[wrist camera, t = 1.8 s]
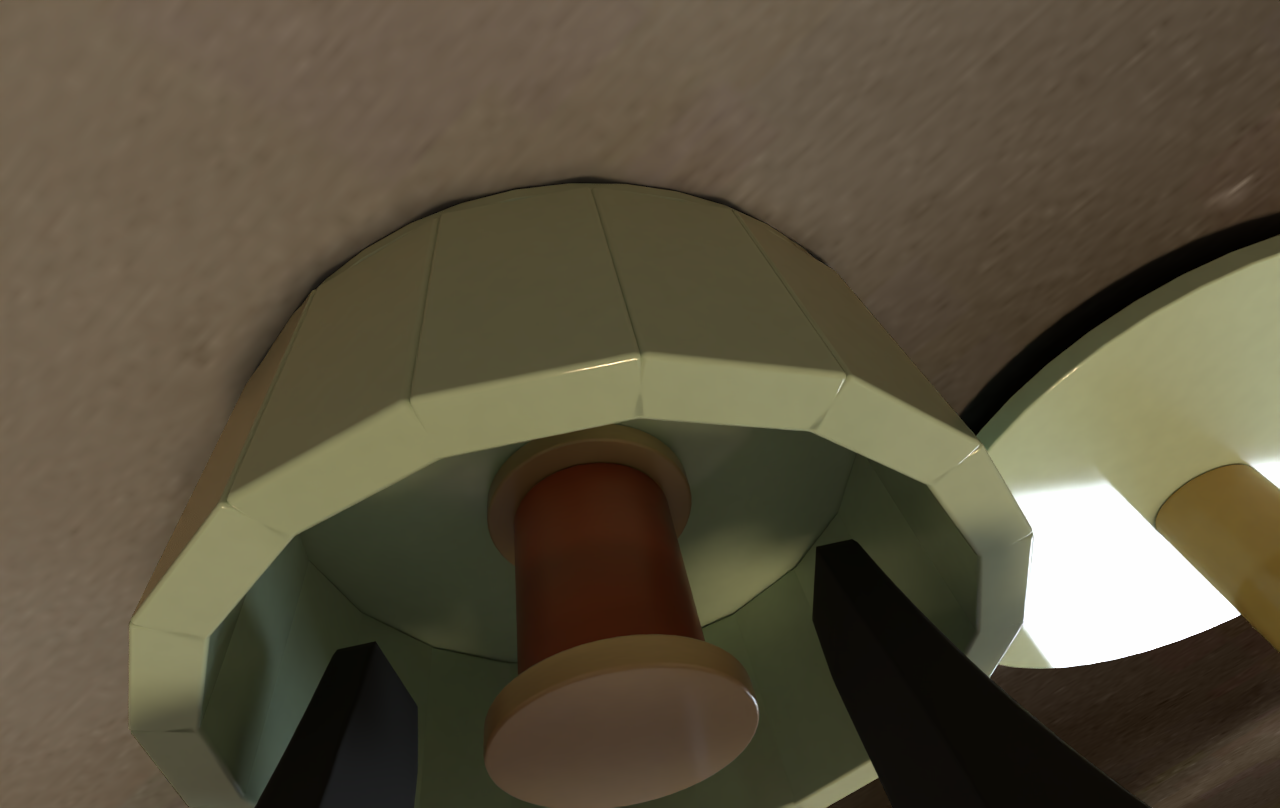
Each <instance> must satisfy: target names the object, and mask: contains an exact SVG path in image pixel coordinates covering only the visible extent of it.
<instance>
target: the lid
mask: <svg viewBox="0 0 1280 808" xmlns="http://www.w3.org/2000/svg"><path fill="white" fill-rule="evenodd" d="M976 437H977V438H978V439H979V440H980V441H981V442H982V444H983V445H984V447H985V449H986V450H987V452H988V454H989V455H990V457H991V459H992V460H993V462H994V464H995V466H996V467H997V469H998V471H999V472H1000V474H1001V476H1002V477H1003V479H1004V481H1005V483H1006V484H1007V486H1008V488H1009V489H1010V491H1011V493H1012V494H1013V496H1014V498H1015V499H1016V501H1017V503H1018V505H1019V506H1020V508H1021V510H1022V511H1023V513H1024V515H1025V516H1026V518H1027V520H1028V522H1029V523H1030V525H1031V527H1032V532H1033V535H1034V541H1033V551H1032V561H1031V571H1030V581H1029V591H1028V601H1027V611H1026V619H1025V620H1024V624H1023V626H1022V628H1021V629H1020V631H1019V632H1018V634H1017V636H1016V637H1015V639H1014V640H1013V642H1012V643H1011V645H1010V647H1009V648H1008V650H1007V651H1006V653H1005V655H1004V656H1003V658H1002V659H1001V661H1000V662H999V664H998V665H1003V666H1009V667H1017V668H1034V669H1042V668H1064V667H1072V666H1080V665H1088V664H1094V663H1099V662H1104V661H1109V660H1114V659H1119V658H1122V657H1126V656H1130V655H1134V654H1138V653H1141V652H1145V651H1148V650H1152V649H1155V648H1158V647H1161V646H1164V645H1167V644H1170V643H1173V642H1176V641H1179V640H1181V639H1184V638H1187V637H1189V636H1192V635H1195V634H1197V633H1200V632H1202V631H1205V630H1207V629H1210V628H1212V627H1214V626H1217V625H1219V624H1221V623H1223V622H1226V621H1228V620H1230V619H1232V618H1235V617H1237V616H1239V615H1241V616H1242V617H1243V618H1244V619H1245V620H1246V621H1247V622H1248V623H1249V624H1250V625H1251V626H1252V627H1253V628H1254V629H1255V630H1256V631H1257V632H1258V633H1259V634H1260V635H1261V636H1262V637H1263V638H1264V639H1266V640H1267V641H1268V642H1269V643H1270V644H1271V645H1272V646H1273V647H1274V648H1275V649H1276V650H1277V651H1278V652H1279V653H1280V235H1277V236H1274V237H1271V238H1268V239H1266V240H1263V241H1260V242H1257V243H1255V244H1252V245H1249V246H1246V247H1244V248H1241V249H1238V250H1235V251H1233V252H1230V253H1228V254H1226V255H1224V256H1221V257H1219V258H1217V259H1215V260H1213V261H1211V262H1208V263H1206V264H1204V265H1202V266H1200V267H1198V268H1195V269H1193V270H1191V271H1189V272H1187V273H1185V274H1182V275H1181V276H1179V277H1177V278H1175V279H1173V280H1172V281H1170V282H1168V283H1166V284H1165V285H1163V286H1161V287H1159V288H1157V289H1156V290H1154V291H1152V292H1150V293H1149V294H1147V295H1145V296H1143V297H1141V298H1140V299H1138V300H1136V301H1134V302H1133V303H1131V304H1130V305H1128V306H1127V307H1125V308H1124V309H1122V310H1121V311H1119V312H1118V313H1116V314H1115V315H1113V316H1112V317H1110V318H1109V319H1107V320H1106V321H1104V322H1103V323H1101V324H1100V325H1098V326H1097V327H1095V328H1094V329H1092V330H1091V331H1089V332H1088V333H1086V334H1085V335H1084V336H1083V337H1081V338H1080V339H1079V340H1077V341H1076V342H1075V343H1074V344H1072V345H1071V346H1070V347H1068V348H1067V349H1066V350H1065V351H1063V352H1062V353H1061V354H1059V355H1058V356H1057V357H1056V358H1054V359H1053V360H1052V361H1051V362H1049V363H1048V364H1047V365H1046V366H1045V367H1043V368H1042V369H1041V370H1040V371H1039V372H1038V373H1037V374H1036V375H1035V376H1034V377H1033V378H1031V379H1030V380H1029V381H1028V382H1027V383H1026V384H1025V385H1024V386H1023V387H1022V388H1020V389H1019V390H1018V391H1017V392H1016V393H1015V394H1014V395H1013V396H1012V397H1011V398H1010V399H1009V400H1008V401H1007V402H1006V403H1005V404H1004V405H1003V406H1002V407H1001V409H1000V410H999V411H998V412H997V413H996V414H995V415H994V416H993V417H992V418H991V419H990V420H989V422H988V423H987V424H986V425H985V426H984V427H983V428H982V429H981V430H980V432H979V433H978V434H977V435H976Z"/></svg>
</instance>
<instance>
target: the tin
mask: <svg viewBox="0 0 1280 808" xmlns="http://www.w3.org/2000/svg"><path fill="white" fill-rule="evenodd" d="M609 424H617V425H623V426H628V427H632V428H635V429H639V430H641V431H643V432H646V433H648V434H650V435H652V436H654V437H655V438H657V439H659V440H660V441H662V442H663V443H664V444H665V445H667V446H668V447H669V448H670V449H671V450H672V451H673V452H674V453H675V454H676V456H677V457H678V459H679V460H680V462H681V463H682V465H683V468H684V470H685V473H686V476H687V479H688V482H689V485H690V490H691V495H692V505H691V511H690V516H689V519H688V522H687V524H686V526H685V528H684V530H683V532H682V534H681V535H680V536H679V538H678V543H679V547H680V550H681V554H682V558H683V561H684V565H685V569H686V572H687V576H688V580H689V584H690V587H691V591H692V595H693V598H694V602H695V606H696V609H697V613H698V617H699V620H700V624H701V628H702V631H703V635H704V639H705V642H708V643H711V644H713V645H716V646H718V647H720V648H722V649H724V650H725V651H727V652H729V653H730V654H731V655H733V656H734V657H735V658H736V659H737V660H738V661H739V662H740V663H741V664H742V665H743V667H744V668H745V669H746V671H747V673H748V675H749V677H750V679H751V683H752V686H753V689H754V692H755V695H756V698H757V702H758V707H759V721H758V726H757V729H756V732H755V734H754V736H753V738H752V740H751V741H750V743H749V744H748V745H747V747H746V748H745V749H744V751H743V752H742V753H741V754H739V755H738V756H737V757H736V758H735V759H734V760H733V761H732V762H731V763H729V764H728V765H727V766H726V767H724V768H723V769H721V770H720V771H718V772H717V773H715V774H714V775H712V776H710V777H708V778H707V779H705V780H703V781H701V782H699V783H697V784H695V785H693V786H691V787H688V788H686V789H684V790H681V791H678V792H676V793H673V794H670V795H667V796H664V797H661V798H658V799H654V800H650V801H647V802H643V803H638V804H633V805H628V806H622V807H615V808H826V807H828V806H829V805H831V804H833V803H835V802H836V801H838V800H840V799H842V798H843V797H845V796H847V795H849V794H850V793H852V792H854V791H856V790H857V789H859V788H861V787H863V786H864V785H866V784H868V783H870V782H871V781H873V780H875V779H877V778H878V775H877V773H876V771H875V769H874V767H873V764H872V762H871V760H870V758H869V756H868V754H867V752H866V750H865V748H864V745H863V743H862V741H861V739H860V737H859V735H858V733H857V731H856V728H855V726H854V724H853V722H852V720H851V718H850V716H849V713H848V711H847V709H846V707H845V705H844V703H843V701H842V698H841V696H840V694H839V692H838V690H837V688H836V685H835V683H834V681H833V679H832V676H831V673H830V670H829V667H828V665H827V662H826V659H825V656H824V653H823V650H822V647H821V644H820V641H819V639H818V636H817V633H816V630H815V627H814V624H813V621H812V612H813V594H814V575H815V557H816V547H817V546H822V545H826V544H831V543H836V542H840V541H845V540H850V539H853V540H855V541H857V542H858V543H859V544H860V545H861V546H862V548H863V549H864V550H865V551H866V552H867V553H868V555H869V556H870V557H871V558H872V559H873V560H874V561H875V563H876V564H877V565H878V566H879V567H880V568H881V569H882V570H883V571H884V573H885V574H886V575H887V576H888V577H889V578H890V579H891V580H892V581H893V582H894V584H895V585H896V586H897V587H898V588H899V589H900V590H901V591H902V592H903V593H904V594H905V595H906V596H907V597H908V598H909V599H910V601H911V602H912V603H913V604H914V605H915V606H916V607H917V608H918V609H919V610H920V611H921V612H922V613H923V614H924V615H925V616H926V617H927V618H928V619H929V620H930V621H931V622H932V623H933V624H934V625H935V626H936V627H937V628H938V629H939V630H940V631H941V632H942V633H943V634H944V635H945V636H946V637H947V638H948V639H949V640H950V641H951V642H952V643H953V644H954V645H955V646H956V647H957V648H958V649H959V650H961V651H962V652H963V653H964V654H965V655H966V656H967V657H968V658H969V659H970V660H971V661H972V662H973V663H974V664H975V665H976V666H977V667H978V668H980V669H981V670H982V671H983V672H984V673H985V674H986V675H987V676H988V677H989V678H990V677H991V675H992V674H993V672H994V670H995V669H996V667H997V666H998V664H999V662H1000V661H1001V659H1002V658H1003V656H1004V655H1005V653H1006V651H1007V650H1008V648H1009V647H1010V645H1011V643H1012V642H1013V640H1014V639H1015V637H1016V636H1017V634H1018V632H1019V631H1020V629H1021V628H1022V626H1023V624H1024V620H1025V619H1026V611H1027V601H1028V591H1029V581H1030V571H1031V561H1032V551H1033V541H1034V535H1033V532H1032V527H1031V525H1030V523H1029V522H1028V520H1027V518H1026V516H1025V515H1024V513H1023V511H1022V510H1021V508H1020V506H1019V505H1018V503H1017V501H1016V499H1015V498H1014V496H1013V494H1012V493H1011V491H1010V489H1009V488H1008V486H1007V484H1006V483H1005V481H1004V479H1003V477H1002V476H1001V474H1000V472H999V471H998V469H997V467H996V466H995V464H994V462H993V460H992V459H991V457H990V455H989V454H988V452H987V450H986V449H985V447H984V445H983V444H982V442H981V441H980V440H979V439H978V438H977V437H976V435H975V434H974V433H973V432H972V431H971V430H970V428H969V427H968V426H967V425H966V424H965V423H964V421H963V420H962V419H961V418H960V417H959V415H958V414H957V413H956V412H955V411H954V410H953V408H952V407H951V406H950V405H949V404H948V403H947V401H946V400H945V399H944V398H943V397H942V395H941V394H940V393H939V392H938V391H937V390H936V388H935V387H934V386H933V385H932V384H931V383H930V381H929V380H928V379H927V378H926V377H925V376H924V374H923V373H922V372H921V371H920V370H919V368H918V367H917V366H916V365H915V364H914V363H913V361H912V360H911V359H910V358H909V357H908V356H907V354H906V353H905V352H904V351H903V350H902V348H901V347H900V346H899V345H898V344H897V343H896V341H895V340H894V339H893V338H892V337H891V336H890V334H889V333H888V332H887V331H886V330H885V328H884V327H883V326H882V325H881V324H880V323H879V321H878V320H877V319H876V318H875V317H874V316H873V314H872V313H871V312H870V311H869V310H868V309H867V307H866V306H865V305H864V304H863V303H862V301H861V300H860V299H859V298H858V297H857V296H856V294H855V293H854V292H853V291H852V290H851V289H850V287H849V286H848V285H847V284H846V283H845V281H844V280H843V279H842V278H841V277H840V276H839V275H838V274H837V273H836V272H835V271H834V270H833V269H831V268H830V267H828V266H826V265H825V264H823V263H821V262H820V261H818V260H816V259H815V258H814V257H813V256H812V255H811V254H809V253H808V252H807V251H806V250H805V249H804V248H803V247H801V246H800V245H798V244H797V243H795V242H793V241H792V240H790V239H789V238H787V237H786V236H784V235H783V234H781V233H780V232H778V231H777V230H775V229H773V228H772V227H770V226H769V225H767V224H765V223H763V222H761V221H759V220H756V219H754V218H752V217H750V216H747V215H745V214H743V213H741V212H739V211H736V210H734V209H732V208H730V207H728V206H725V205H722V204H719V203H715V202H712V201H708V200H705V199H701V198H698V197H694V196H691V195H688V194H684V193H681V192H677V191H670V190H664V189H657V188H650V187H643V186H636V185H629V184H591V183H568V184H560V185H551V186H543V187H534V188H526V189H517V190H512V191H508V192H504V193H500V194H496V195H492V196H488V197H484V198H480V199H476V200H472V201H468V202H464V203H460V204H458V205H455V206H453V207H450V208H448V209H445V210H443V211H440V212H438V213H435V214H433V215H430V216H428V217H425V218H423V219H420V220H418V221H415V222H413V223H410V224H408V225H407V226H405V227H403V228H401V229H399V230H398V231H396V232H394V233H392V234H391V235H389V236H387V237H385V238H384V239H382V240H380V241H378V242H377V243H375V244H373V245H371V246H370V247H368V248H366V249H364V250H363V251H362V252H360V253H359V254H358V255H356V256H355V257H354V258H353V259H351V260H350V261H349V262H347V263H346V264H345V265H344V266H342V267H341V268H340V269H339V270H337V271H336V272H335V273H333V274H332V275H331V276H330V277H328V278H327V279H326V280H324V281H323V283H322V284H321V285H320V286H319V287H318V288H317V289H316V290H313V291H311V293H310V294H309V296H308V297H307V299H306V300H305V301H304V303H303V304H302V305H301V306H300V307H299V308H298V309H297V310H296V311H295V312H294V314H293V315H292V316H291V318H290V319H289V321H288V322H287V324H286V325H285V327H284V328H283V330H282V331H281V333H280V334H279V336H278V337H277V339H276V340H275V342H274V343H273V345H272V346H271V348H270V349H269V351H268V353H267V355H266V357H265V358H264V359H263V361H262V362H261V364H260V365H259V367H258V368H257V369H256V371H255V372H254V374H253V375H252V377H251V378H250V379H249V381H248V382H247V384H246V385H245V387H244V389H243V391H242V393H241V395H240V397H239V399H238V401H237V403H236V405H235V407H234V409H233V411H232V413H231V415H230V417H229V420H228V422H227V424H226V426H225V428H224V430H223V432H222V434H221V436H220V438H219V440H218V442H217V444H216V446H215V448H214V450H213V452H212V454H211V456H210V458H209V460H208V462H207V464H206V466H205V468H204V470H203V472H202V474H201V477H200V479H199V481H198V483H197V485H196V487H195V489H194V491H193V493H192V495H191V497H190V499H189V501H188V503H187V505H186V507H185V509H184V511H183V513H182V515H181V517H180V519H179V521H178V523H177V525H176V527H175V529H174V532H173V534H172V536H171V538H170V540H169V542H168V544H167V546H166V548H165V550H164V552H163V554H162V556H161V558H160V560H159V562H158V564H157V566H156V568H155V570H154V572H153V574H152V576H151V578H150V580H149V582H148V584H147V586H146V589H145V591H144V593H143V595H142V597H141V599H140V601H139V603H138V605H137V607H136V609H135V611H134V613H133V615H132V617H131V621H130V623H129V680H128V729H129V730H131V734H132V735H133V736H134V738H135V739H136V740H137V742H138V743H139V744H140V745H141V747H142V748H143V749H144V751H145V752H146V753H147V754H148V756H149V757H150V758H151V760H152V761H153V762H154V763H155V765H156V766H157V767H158V769H159V770H160V771H161V773H162V774H163V775H164V776H165V778H166V779H167V780H168V782H169V783H170V784H171V785H172V787H173V788H174V789H175V791H176V792H177V793H178V794H179V796H180V797H181V798H182V800H183V801H184V802H185V803H186V805H187V806H188V807H190V808H254V807H255V806H256V804H257V802H258V800H259V798H260V796H261V794H262V793H263V791H264V789H265V787H266V785H267V783H268V781H269V780H270V778H271V776H272V774H273V772H274V770H275V768H276V767H277V765H278V763H279V761H280V759H281V757H282V755H283V754H284V752H285V750H286V748H287V746H288V744H289V742H290V740H291V738H292V736H293V734H294V732H295V730H296V728H297V726H298V724H299V722H300V721H301V719H302V717H303V715H304V713H305V711H306V709H307V707H308V705H309V703H310V701H311V699H312V697H313V694H314V692H315V690H316V688H317V686H318V684H319V682H320V680H321V678H322V676H323V674H324V672H325V670H326V668H327V666H328V664H329V662H330V660H331V658H332V656H333V654H334V653H335V652H336V650H337V649H342V648H346V647H351V646H356V645H360V644H365V643H370V642H374V641H376V643H377V644H378V646H379V647H380V649H381V650H382V652H383V653H384V655H385V656H386V658H387V660H388V661H389V663H390V664H391V666H392V667H393V669H394V670H395V672H396V673H397V675H398V677H399V678H400V680H401V681H402V683H403V684H404V686H405V687H406V689H407V690H408V692H409V694H410V695H411V697H412V698H413V700H414V701H415V703H416V704H417V706H418V774H417V784H416V794H415V802H414V808H550V807H545V806H540V805H535V804H532V803H528V802H525V801H522V800H520V799H518V798H515V797H513V796H511V795H510V794H508V793H506V792H505V791H503V790H502V789H501V788H499V787H498V786H497V785H496V784H495V783H494V782H493V780H492V779H491V778H490V776H489V774H488V772H487V770H486V767H485V765H484V757H483V742H484V723H485V718H486V716H487V713H488V710H489V708H490V706H491V704H492V703H493V701H494V699H495V698H496V696H497V695H498V694H499V693H500V692H501V691H502V689H503V688H504V687H505V686H506V685H507V684H508V683H510V682H511V681H512V680H513V679H514V678H515V677H516V676H518V661H517V622H516V584H515V566H514V565H512V564H511V563H510V562H508V561H507V560H506V559H505V558H504V557H503V556H502V555H501V554H500V552H499V551H498V549H497V548H496V547H495V545H494V543H493V541H492V539H491V537H490V534H489V530H488V525H487V501H488V493H489V490H490V486H491V483H492V481H493V479H494V477H495V475H496V474H497V472H498V471H499V469H500V468H501V466H502V465H503V464H504V463H505V462H506V460H507V459H508V458H509V457H510V456H511V455H512V454H513V453H515V452H516V451H517V450H518V449H519V448H521V447H522V446H524V445H525V444H527V443H528V442H530V441H532V440H535V439H540V438H545V437H550V436H555V435H560V434H565V433H570V432H575V431H579V430H584V429H589V428H594V427H599V426H604V425H609Z"/></svg>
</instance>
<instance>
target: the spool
mask: <svg viewBox="0 0 1280 808" xmlns="http://www.w3.org/2000/svg"><path fill="white" fill-rule="evenodd" d="M691 505H692V495H691V490H690V485H689V482H688V479H687V476H686V473H685V470H684V468H683V465H682V463H681V462H680V460H679V459H678V457H677V456H676V454H675V453H674V452H673V451H672V450H671V449H670V448H669V447H668V446H667V445H665V444H664V443H663V442H662V441H660V440H659V439H657V438H655V437H654V436H652V435H650V434H648V433H646V432H643V431H641V430H639V429H635V428H632V427H628V426H623V425H617V424H609V425H604V426H599V427H594V428H589V429H584V430H579V431H575V432H570V433H565V434H560V435H555V436H550V437H545V438H540V439H535V440H532V441H530V442H528V443H527V444H525V445H524V446H522V447H521V448H519V449H518V450H517V451H516V452H515V453H513V454H512V455H511V456H510V457H509V458H508V459H507V460H506V462H505V463H504V464H503V465H502V466H501V468H500V469H499V471H498V472H497V474H496V475H495V477H494V479H493V481H492V483H491V486H490V490H489V493H488V501H487V525H488V530H489V534H490V537H491V539H492V541H493V543H494V545H495V547H496V548H497V549H498V551H499V552H500V554H501V555H502V556H503V557H504V558H505V559H506V560H507V561H508V562H510V563H511V564H512V565H514V566H515V584H516V622H517V661H518V676H516V677H515V678H514V679H513V680H512V681H511V682H510V683H508V684H507V685H506V686H505V687H504V688H503V689H502V691H501V692H500V693H499V694H498V695H497V696H496V698H495V699H494V701H493V703H492V704H491V706H490V708H489V710H488V713H487V716H486V718H485V723H484V742H483V757H484V765H485V767H486V770H487V772H488V774H489V776H490V778H491V779H492V780H493V782H494V783H495V784H496V785H497V786H498V787H499V788H501V789H502V790H503V791H505V792H506V793H508V794H510V795H511V796H513V797H515V798H518V799H520V800H522V801H525V802H528V803H532V804H535V805H540V806H545V807H550V808H615V807H622V806H628V805H633V804H638V803H643V802H647V801H650V800H654V799H658V798H661V797H664V796H667V795H670V794H673V793H676V792H678V791H681V790H684V789H686V788H688V787H691V786H693V785H695V784H697V783H699V782H701V781H703V780H705V779H707V778H708V777H710V776H712V775H714V774H715V773H717V772H718V771H720V770H721V769H723V768H724V767H726V766H727V765H728V764H729V763H731V762H732V761H733V760H734V759H735V758H736V757H737V756H738V755H739V754H741V753H742V752H743V751H744V749H745V748H746V747H747V745H748V744H749V743H750V741H751V740H752V738H753V736H754V734H755V732H756V729H757V726H758V721H759V707H758V702H757V698H756V695H755V692H754V689H753V686H752V683H751V679H750V677H749V675H748V673H747V671H746V669H745V668H744V667H743V665H742V664H741V663H740V662H739V661H738V660H737V659H736V658H735V657H734V656H733V655H731V654H730V653H729V652H727V651H725V650H724V649H722V648H720V647H718V646H716V645H713V644H711V643H708V642H705V639H704V635H703V631H702V628H701V624H700V620H699V617H698V613H697V609H696V606H695V602H694V598H693V595H692V591H691V587H690V584H689V580H688V576H687V572H686V569H685V565H684V561H683V558H682V554H681V550H680V547H679V543H678V538H679V536H680V535H681V534H682V532H683V530H684V528H685V526H686V524H687V522H688V519H689V516H690V511H691Z"/></svg>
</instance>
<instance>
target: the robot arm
mask: <svg viewBox="0 0 1280 808" xmlns="http://www.w3.org/2000/svg"><path fill="white" fill-rule="evenodd" d="M812 621H813V624H814V627H815V630H816V633H817V636H818V639H819V641H820V644H821V647H822V650H823V653H824V656H825V659H826V662H827V665H828V667H829V670H830V673H831V676H832V679H833V681H834V683H835V685H836V688H837V690H838V692H839V694H840V696H841V698H842V701H843V703H844V705H845V707H846V709H847V711H848V713H849V716H850V718H851V720H852V722H853V724H854V726H855V728H856V731H857V733H858V735H859V737H860V739H861V741H862V743H863V745H864V748H865V750H866V752H867V754H868V756H869V758H870V760H871V762H872V764H873V767H874V769H875V771H876V773H877V775H878V777H879V779H880V781H881V784H882V786H883V788H884V790H885V792H886V794H887V796H888V798H889V801H890V803H891V805H892V807H893V808H1151V807H1150V806H1148V805H1147V804H1145V803H1144V802H1142V801H1141V800H1140V799H1138V798H1137V797H1135V796H1134V795H1133V794H1131V793H1130V792H1129V791H1127V790H1126V789H1125V788H1123V787H1122V786H1121V785H1119V784H1118V783H1117V782H1115V781H1114V780H1113V779H1111V778H1110V777H1109V776H1107V775H1106V774H1105V773H1104V772H1102V771H1101V770H1100V769H1098V768H1097V767H1096V766H1094V765H1093V764H1092V763H1090V762H1089V761H1088V760H1086V759H1085V758H1084V757H1083V756H1081V755H1080V754H1079V753H1078V752H1076V751H1075V750H1074V749H1073V748H1071V747H1070V746H1069V745H1068V744H1066V743H1065V742H1064V741H1063V740H1061V739H1060V738H1059V737H1058V736H1056V735H1055V734H1054V733H1053V732H1052V731H1050V730H1049V729H1048V728H1047V727H1046V726H1044V725H1043V724H1042V723H1041V722H1040V721H1038V720H1037V719H1036V718H1035V717H1034V716H1032V715H1031V714H1030V713H1029V712H1028V711H1027V710H1025V709H1024V708H1023V707H1022V706H1021V705H1020V704H1018V703H1017V702H1016V701H1015V700H1014V699H1013V698H1012V697H1011V696H1009V695H1008V694H1007V693H1006V692H1005V691H1004V690H1003V689H1002V688H1000V687H999V686H998V685H997V684H996V683H995V682H994V681H993V680H991V679H990V678H989V677H988V676H987V675H986V674H985V673H984V672H983V671H982V670H981V669H980V668H978V667H977V666H976V665H975V664H974V663H973V662H972V661H971V660H970V659H969V658H968V657H967V656H966V655H965V654H964V653H963V652H962V651H961V650H959V649H958V648H957V647H956V646H955V645H954V644H953V643H952V642H951V641H950V640H949V639H948V638H947V637H946V636H945V635H944V634H943V633H942V632H941V631H940V630H939V629H938V628H937V627H936V626H935V625H934V624H933V623H932V622H931V621H930V620H929V619H928V618H927V617H926V616H925V615H924V614H923V613H922V612H921V611H920V610H919V609H918V608H917V607H916V606H915V605H914V604H913V603H912V602H911V601H910V599H909V598H908V597H907V596H906V595H905V594H904V593H903V592H902V591H901V590H900V589H899V588H898V587H897V586H896V585H895V584H894V582H893V581H892V580H891V579H890V578H889V577H888V576H887V575H886V574H885V573H884V571H883V570H882V569H881V568H880V567H879V566H878V565H877V564H876V563H875V561H874V560H873V559H872V558H871V557H870V556H869V555H868V553H867V552H866V551H865V550H864V549H863V548H862V546H861V545H860V544H859V543H858V542H857V541H855V540H853V539H850V540H845V541H840V542H836V543H831V544H826V545H822V546H817V547H816V557H815V575H814V594H813V612H812ZM417 774H418V706H417V704H416V703H415V701H414V700H413V698H412V697H411V695H410V694H409V692H408V690H407V689H406V687H405V686H404V684H403V683H402V681H401V680H400V678H399V677H398V675H397V673H396V672H395V670H394V669H393V667H392V666H391V664H390V663H389V661H388V660H387V658H386V656H385V655H384V653H383V652H382V650H381V649H380V647H379V646H378V644H377V643H376V641H374V642H370V643H365V644H360V645H356V646H351V647H346V648H342V649H337V650H336V652H335V653H334V654H333V656H332V658H331V660H330V662H329V664H328V666H327V668H326V670H325V672H324V674H323V676H322V678H321V680H320V682H319V684H318V686H317V688H316V690H315V692H314V694H313V697H312V699H311V701H310V703H309V705H308V707H307V709H306V711H305V713H304V715H303V717H302V719H301V721H300V722H299V724H298V726H297V728H296V730H295V732H294V734H293V736H292V738H291V740H290V742H289V744H288V746H287V748H286V750H285V752H284V754H283V755H282V757H281V759H280V761H279V763H278V765H277V767H276V768H275V770H274V772H273V774H272V776H271V778H270V780H269V781H268V783H267V785H266V787H265V789H264V791H263V793H262V794H261V796H260V798H259V800H258V802H257V804H256V806H255V807H254V808H414V802H415V794H416V784H417Z"/></svg>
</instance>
